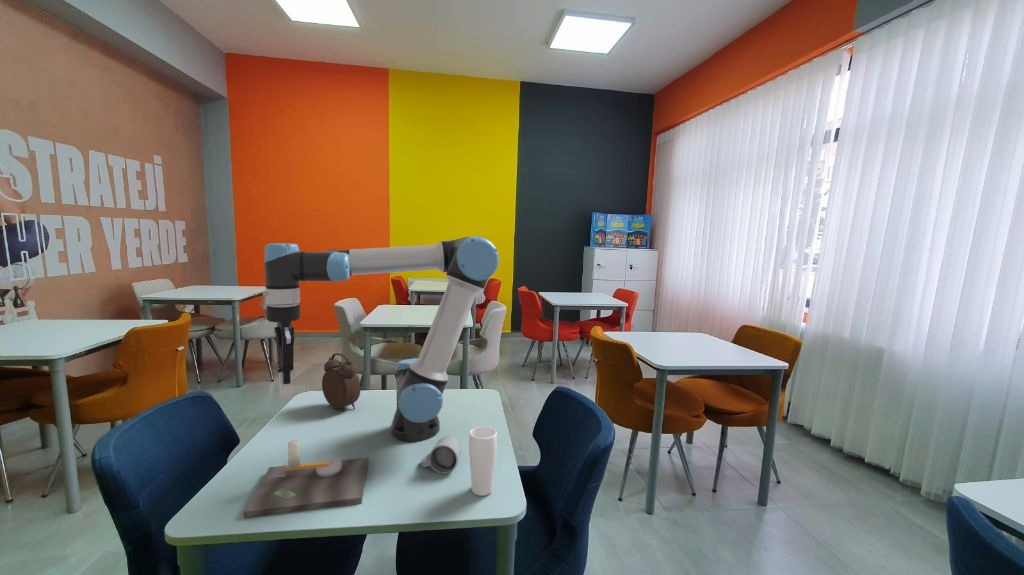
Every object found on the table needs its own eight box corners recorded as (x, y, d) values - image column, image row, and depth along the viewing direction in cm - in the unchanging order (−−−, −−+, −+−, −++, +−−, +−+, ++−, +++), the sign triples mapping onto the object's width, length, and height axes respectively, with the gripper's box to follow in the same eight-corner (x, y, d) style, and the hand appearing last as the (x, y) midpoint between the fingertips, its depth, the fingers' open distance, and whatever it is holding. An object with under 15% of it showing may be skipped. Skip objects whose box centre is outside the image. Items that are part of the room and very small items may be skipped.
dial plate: (368, 462, 113) (368, 457, 113) (361, 503, 95) (361, 496, 95) (270, 472, 107) (269, 466, 107) (243, 518, 89) (243, 511, 89)
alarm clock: (364, 409, 148) (363, 354, 145) (346, 416, 141) (345, 359, 139) (338, 400, 155) (336, 348, 153) (320, 406, 149) (318, 352, 147)
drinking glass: (499, 496, 99) (500, 437, 98) (471, 501, 97) (472, 440, 96) (492, 480, 106) (493, 424, 104) (466, 484, 104) (466, 427, 102)
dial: (343, 463, 109) (342, 433, 108) (340, 475, 103) (339, 444, 102) (289, 468, 106) (287, 437, 105) (282, 482, 100) (281, 449, 99)
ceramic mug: (463, 458, 116) (463, 432, 115) (457, 474, 108) (457, 446, 107) (425, 457, 117) (425, 430, 116) (417, 473, 109) (416, 445, 108)
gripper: (262, 302, 108) (266, 389, 110) (269, 309, 97) (273, 406, 100) (295, 300, 112) (297, 384, 115) (304, 307, 102) (307, 399, 104)
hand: (286, 394), depth 107 cm, fingers closed
